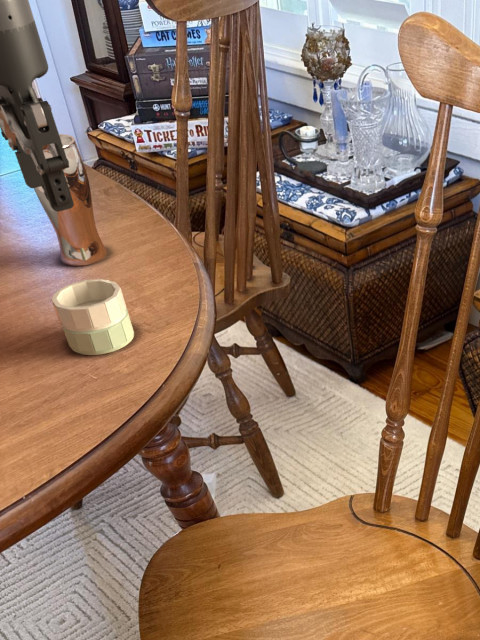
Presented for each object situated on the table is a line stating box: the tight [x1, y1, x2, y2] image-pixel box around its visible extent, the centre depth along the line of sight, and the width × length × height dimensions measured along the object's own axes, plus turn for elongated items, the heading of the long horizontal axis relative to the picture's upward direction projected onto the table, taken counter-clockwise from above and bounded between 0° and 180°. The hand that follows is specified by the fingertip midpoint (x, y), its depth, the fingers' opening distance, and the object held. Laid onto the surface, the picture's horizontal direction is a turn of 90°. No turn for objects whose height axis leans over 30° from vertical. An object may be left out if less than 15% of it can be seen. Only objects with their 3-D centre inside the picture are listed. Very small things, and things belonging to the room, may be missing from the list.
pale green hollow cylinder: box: [61, 307, 135, 356], centre depth 91 cm, size 7×7×3 cm
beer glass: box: [33, 133, 107, 267], centre depth 104 cm, size 7×7×15 cm
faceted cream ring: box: [51, 278, 127, 332], centre depth 89 cm, size 7×7×3 cm
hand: (50, 197), depth 84 cm, fingers open, 8 cm apart
